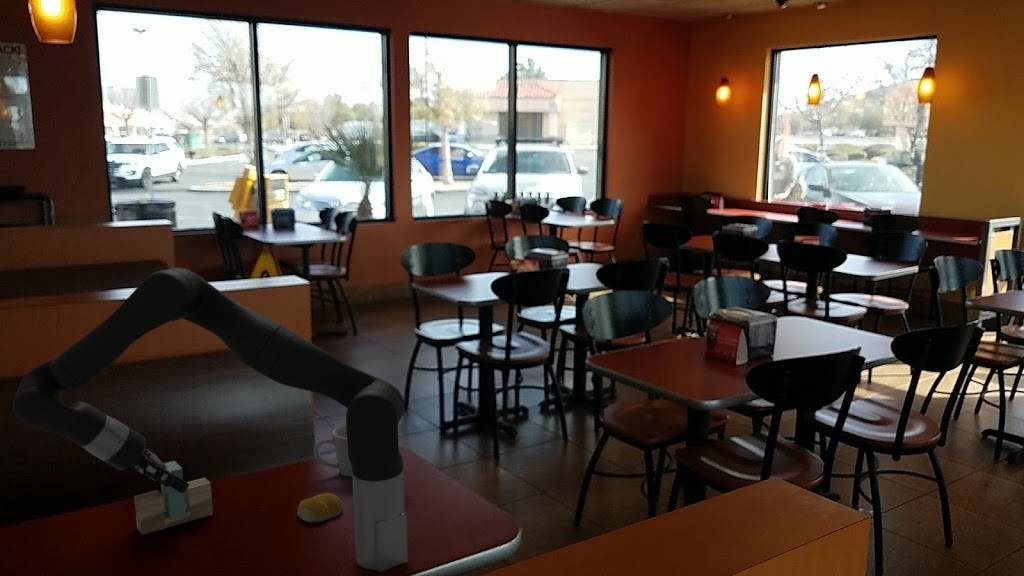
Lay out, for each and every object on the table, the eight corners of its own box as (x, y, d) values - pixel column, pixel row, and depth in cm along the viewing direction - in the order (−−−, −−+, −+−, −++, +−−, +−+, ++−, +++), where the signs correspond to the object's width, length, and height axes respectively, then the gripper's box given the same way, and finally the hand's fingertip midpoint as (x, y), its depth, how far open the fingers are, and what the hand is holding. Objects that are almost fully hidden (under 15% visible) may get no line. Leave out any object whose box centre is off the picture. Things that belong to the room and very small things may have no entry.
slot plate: (212, 514, 170) (210, 482, 169) (142, 534, 161) (139, 502, 160) (207, 508, 173) (204, 477, 171) (137, 528, 164) (134, 496, 163)
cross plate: (186, 514, 166) (182, 468, 164) (170, 518, 164) (166, 472, 162) (178, 506, 169) (174, 460, 168) (163, 510, 168) (159, 464, 166)
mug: (382, 475, 189) (381, 434, 187) (317, 485, 184) (315, 444, 182) (373, 459, 199) (371, 420, 197) (311, 468, 193) (309, 428, 191)
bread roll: (349, 512, 171) (349, 494, 170) (313, 527, 165) (312, 509, 164) (327, 500, 177) (326, 483, 176) (290, 514, 170) (289, 496, 169)
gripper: (136, 436, 153) (203, 477, 162) (117, 416, 164) (180, 456, 173) (109, 470, 150) (177, 509, 160) (90, 447, 161) (156, 486, 171)
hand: (179, 482), depth 166 cm, fingers open, 8 cm apart
